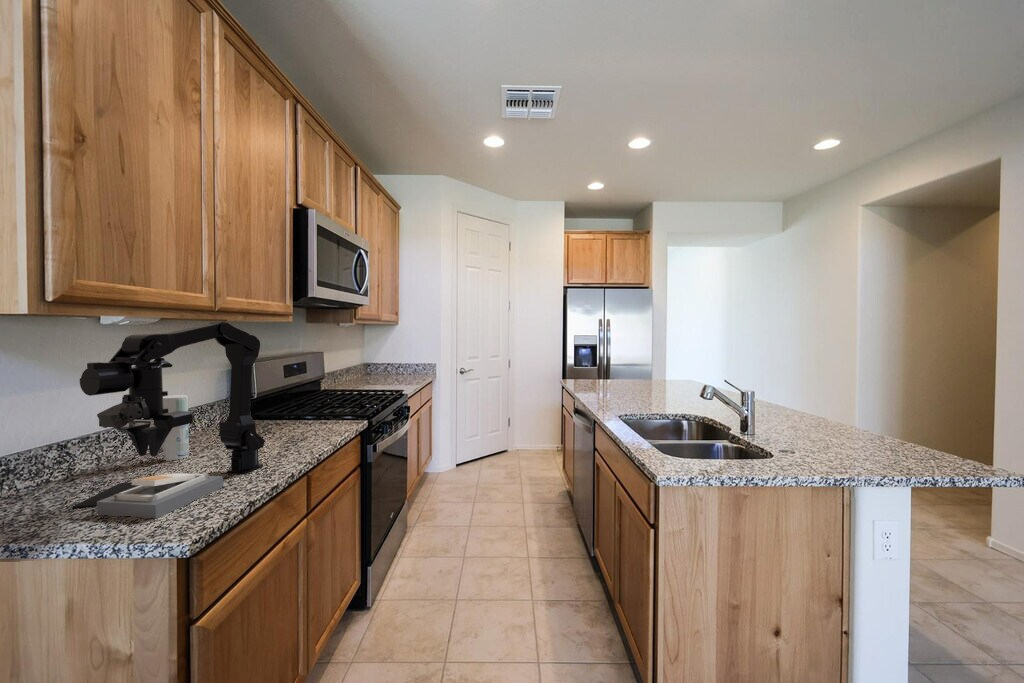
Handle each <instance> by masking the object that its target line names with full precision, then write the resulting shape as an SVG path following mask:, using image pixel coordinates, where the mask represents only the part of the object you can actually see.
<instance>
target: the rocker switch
mask: <svg viewBox="0 0 1024 683" xmlns="http://www.w3.org/2000/svg"><path fill="white" fill-rule="evenodd" d="M182 473H183V472H172V473H166V474H161V475H151V476H144V477H137V478H134V479H131V482H132V485H141V486H158V485H164V484H169V483H175V482H181V481H186V480H192V479H194V478H195V474H196V473H193V474H182Z"/></svg>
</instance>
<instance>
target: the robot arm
mask: <svg viewBox="0 0 1024 683" xmlns="http://www.w3.org/2000/svg"><path fill="white" fill-rule="evenodd" d="M213 339H214V340H215V341H216V343H217V344H218V345H220V346H222V347H224V350H225V351H224V352H225V356H226V358H227V360H228V362H229V363H230V366H231V368H230V369H231V370H230V371H231V372H230V373H231V374H230V390H229V410H228V412H229V413H228V416H227V417H226V420H224V421H220V422H219V425H218V426H219V433H218V435H217V436H218V437H219V438H220V442H221V443H223V444H224V447H225V449H226V450H227V451H229V450H230V451H231V457H230V466H231V468H230V469H227V473H233V474H235V473H236V474H248V473H250V472H252V471H255V470H257V469H259V468H262V467H263V466H264V464H263V463H259V450H261V449H262V448H264V446H265V442H266V440H265V438H263V437H262V436H261V435H259V434H258V433H257V429H256V428H257V426H256V422H255V420H254V419H253V417H252V416H251V395H252V375H253V374H252V373H253V372H252V371H253V365H254V363H255V362H256V360H257V359H258V358H259V354H260V348H261V341H260V339H259V338H257V336H255V335H254V334H251V333H248V332H247V331H244V330H242V329H240V328H238V327H234V326H233V325H232V324H230V323H229V322H227V321H211V322H209V323H206V324H201V325H197V326H193V327H192V326H191V327H188V328H183V329H179V330H174V331H170V332H165V333H164V332H163V333H162V332H161V333H140V334H136V333H135V334H131V335H127V336H126V337H125V338H124V340H123V341H122V344H121V347H120V348H119V349H118V350H117V352H116V353H115V354H114V355H113V356H112V358H110V360H109V361H107V362H94V361H93V362H88V363H86V365H87V366H86V369H85V370H84V371H83V372H82V374H81V375H80V376H81V377H80V378H79V385H80V389H81V391H82V392H83V393H84V394H85V395H87V396H89V397H90V396H100V395H105V394H107V395H108V394H114V393H116V394H117V393H122V392H126V391H127V390H128V394H123V396H122V401H121V402H120V403H118V404H116V405H112V406H111V407H108V408H107V409H105V410H102V411H101V412H98V413H97V414H96V417H97V418H98V426H99V427H102V428H104V429H107V428H113V429H116V430H117V431H119V432H122V433H124V434H127V436H128V437H129V438H130V440H131V442H132V444H133V445H134V448H135V451H136V452H137V454H138V456H139V457H143V456H145V455H147V452H148V450H149V455H150V457H155V456H157V455H158V453H159V451H160V450H161V449H162V447H163V443H164V441H165V439H166V437H167V436H168V434H169V433H170V431H171V430H172V428H174V427H178V426H182V425H186V424H188V425H189V424H194V413H192V412H191V411H189V410H188V411H175V412H170V413H168V408H163V397H165V396H169V392H168V391H165V390H164V389H163V369H166V368H172V367H173V364H172V363H170V362H169V361H167V360H166V359H165V356H168V355H170V354H172V353H174V352H175V351H176V350H178V349H180V348H182V347H183V348H184V347H186V346H190V345H194V344H197V343H200V342H201V343H202V342H205V341H209V340H213ZM164 413H165V414H164Z"/></svg>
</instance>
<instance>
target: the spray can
mask: <svg viewBox="0 0 1024 683" xmlns="http://www.w3.org/2000/svg"><path fill="white" fill-rule="evenodd" d="M188 398H189V397H188V394H176V395H175V394H173V395H168V396H163V408H168V413H170V412H175V411H189V401H188V400H189V399H188ZM164 414H165V413H164ZM189 440H190V438H189V424H186V425H182V426H178V427H174V428H172V430H171V431H170V433H169V434H168V436H167V437H166V439H165V441H164V443H163V444H162V449H163V450H162V452H163V453H162V454H163V455H162V456H163V461H164V460H166V461H165V462H173V461H172V460H176V461H179V460H178V459H181V460H184V459H187V458H189V456H190V454H189V453H190V448H189V447H190V446H189V444H190V442H189ZM186 457H187V458H186ZM183 458H184V459H183Z"/></svg>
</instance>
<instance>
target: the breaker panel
mask: <svg viewBox="0 0 1024 683" xmlns="http://www.w3.org/2000/svg"><path fill="white" fill-rule="evenodd" d="M181 473H182V474H195V478H194V479H192V480H186V481H181V482H175V483H169V484H164V485H158V486H141V485H140V486H137V487H134V488H132V489H129V490H126V491H123V492H121V493H118V494H115V495H114V496H111V497H108V498H105V499H103V500H100V501H97V507H96V515H97V514H98V515H97V516H104V515H114V516H113V517H120V516H131V517H130V518H136V517H141V519H151V518H155V520H156V518H157V519H159V518H161V517H163V516H165V515H167V514H169V512H170V513H171V511H172V512H174V511H176V510H178V509H180V508H182V506H183V507H184V505H185V506H187V505H189V504H191V503H193V502H195V501H197V500H196V499H198V498H200V499H202V498H203V497H202V496H204V497H205V495H206V496H208V495H210V494H209V493H211V492H213V491H215V492H217V491H219V490H221V489H223V488H224V476H220V475H210V474H209V473H208V474H207V473H190V472H189V473H188V472H181ZM222 487H223V488H222ZM220 488H221V489H220ZM218 489H219V490H218ZM216 490H217V491H216ZM213 493H214V492H213ZM207 494H208V495H207ZM211 494H212V493H211ZM201 497H202V498H201ZM194 500H195V501H194ZM198 500H199V499H198ZM192 501H193V502H192ZM190 502H191V503H190ZM188 503H189V504H188ZM186 504H187V505H186ZM175 509H176V510H175ZM173 510H174V511H173ZM160 516H161V517H160ZM158 517H159V518H158Z"/></svg>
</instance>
